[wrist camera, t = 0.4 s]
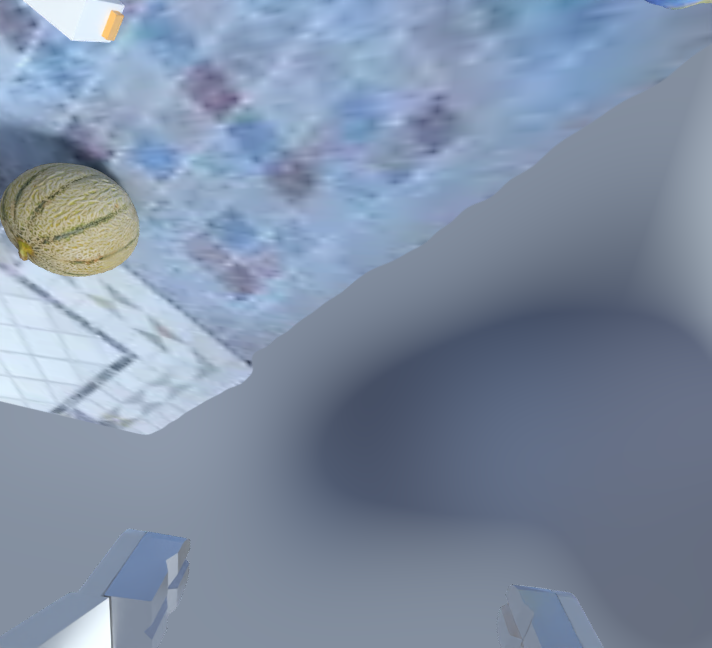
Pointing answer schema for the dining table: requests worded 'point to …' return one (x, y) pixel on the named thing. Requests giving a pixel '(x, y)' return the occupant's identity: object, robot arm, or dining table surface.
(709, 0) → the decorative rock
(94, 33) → the rail module
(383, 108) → the dining table surface
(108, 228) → the cantaloupe
